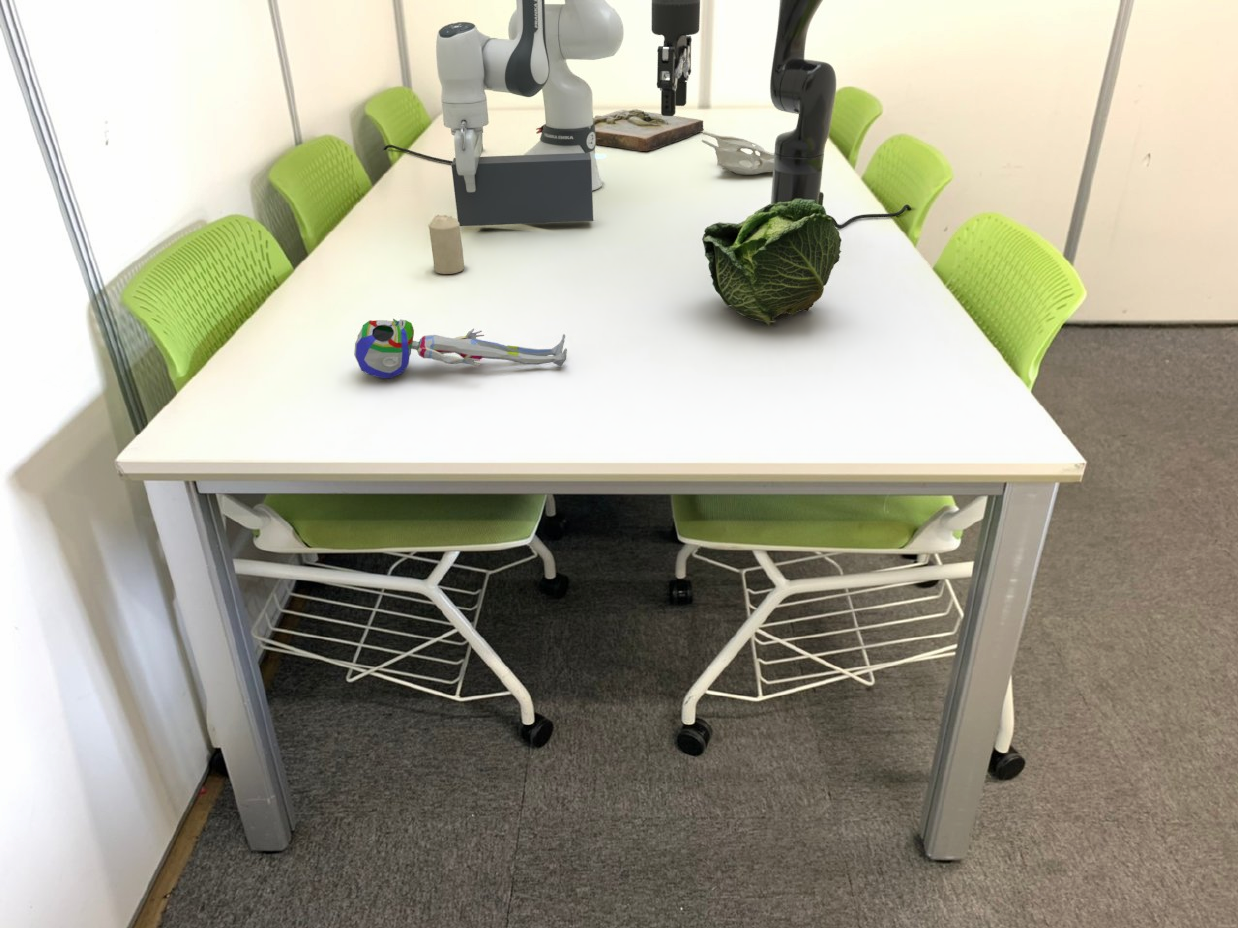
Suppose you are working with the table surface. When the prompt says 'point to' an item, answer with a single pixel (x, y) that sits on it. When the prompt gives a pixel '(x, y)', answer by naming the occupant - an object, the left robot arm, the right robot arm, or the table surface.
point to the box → (526, 190)
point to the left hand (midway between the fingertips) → (472, 186)
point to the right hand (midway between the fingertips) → (674, 110)
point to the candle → (446, 244)
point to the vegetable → (773, 259)
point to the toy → (435, 349)
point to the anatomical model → (741, 155)
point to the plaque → (643, 129)
